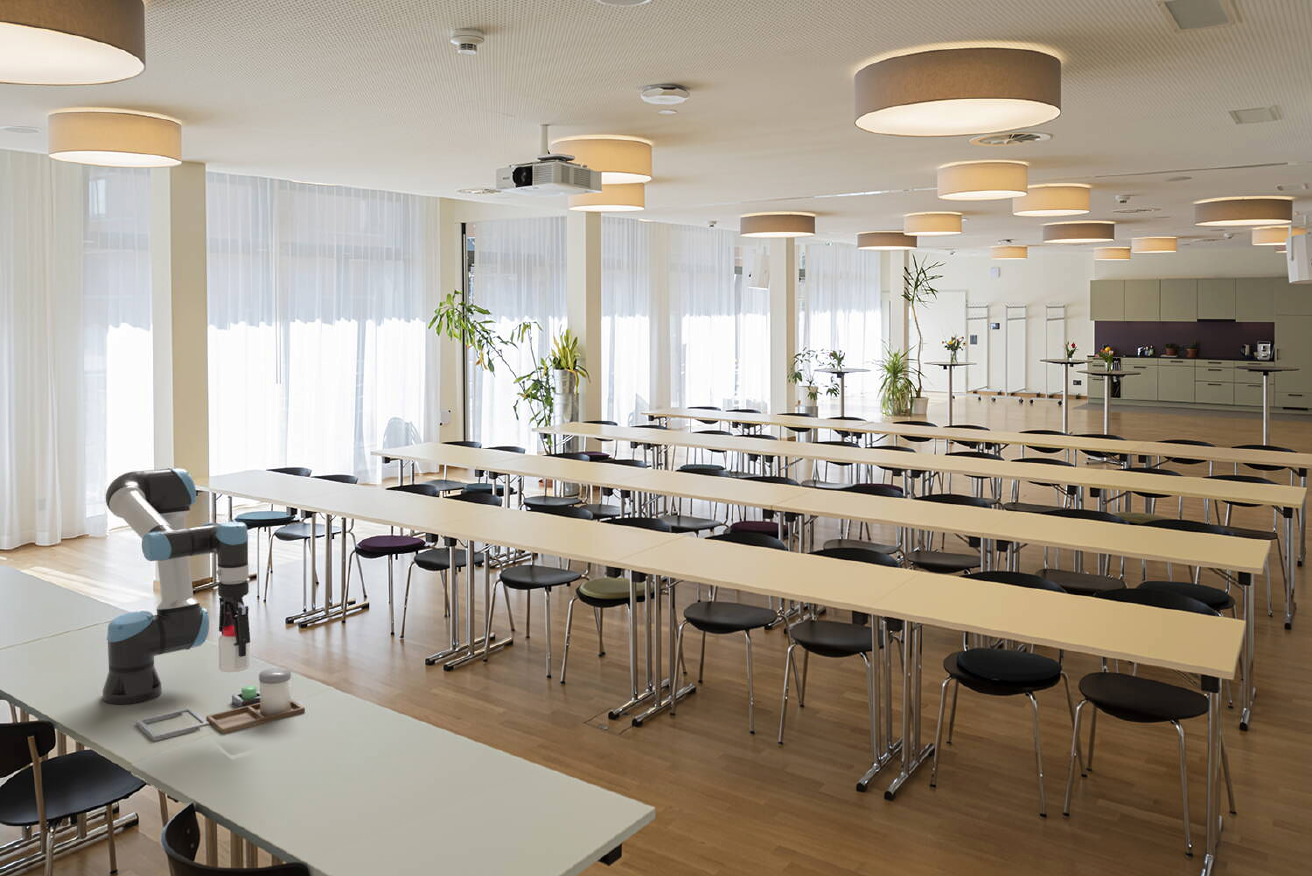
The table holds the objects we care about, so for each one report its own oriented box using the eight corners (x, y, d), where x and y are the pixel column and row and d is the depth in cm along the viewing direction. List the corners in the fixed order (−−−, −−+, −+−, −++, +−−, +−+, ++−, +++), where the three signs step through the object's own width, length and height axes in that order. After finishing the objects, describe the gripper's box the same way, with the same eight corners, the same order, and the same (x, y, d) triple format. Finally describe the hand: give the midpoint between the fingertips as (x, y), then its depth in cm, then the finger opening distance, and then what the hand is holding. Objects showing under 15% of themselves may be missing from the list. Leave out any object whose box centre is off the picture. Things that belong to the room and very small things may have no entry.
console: (232, 705, 283) (231, 694, 282) (256, 699, 287) (256, 689, 287) (242, 712, 278) (241, 702, 277) (266, 706, 282) (266, 696, 282)
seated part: (254, 710, 277) (254, 672, 276) (283, 703, 283) (282, 666, 282) (267, 719, 271) (266, 680, 270) (296, 711, 277) (295, 673, 276)
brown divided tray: (206, 723, 270) (206, 715, 269) (286, 702, 285) (286, 696, 285) (223, 736, 262) (222, 729, 261) (304, 714, 277) (304, 708, 277)
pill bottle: (238, 673, 263) (237, 633, 262) (212, 670, 265) (211, 630, 263) (256, 664, 271) (255, 625, 269) (230, 661, 272) (229, 622, 271)
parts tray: (136, 724, 267) (136, 720, 267) (190, 711, 277) (190, 707, 277) (154, 741, 257) (153, 736, 257) (209, 727, 267) (209, 722, 267)
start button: (239, 701, 282) (239, 688, 282) (253, 698, 285) (253, 685, 285) (245, 705, 280) (244, 692, 279) (259, 702, 282) (259, 688, 282)
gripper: (204, 575, 270) (206, 656, 272) (234, 591, 255) (235, 676, 258) (232, 570, 275) (233, 650, 278) (263, 586, 260) (264, 670, 263)
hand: (234, 663), depth 268 cm, fingers closed on pill bottle, 8 cm apart
